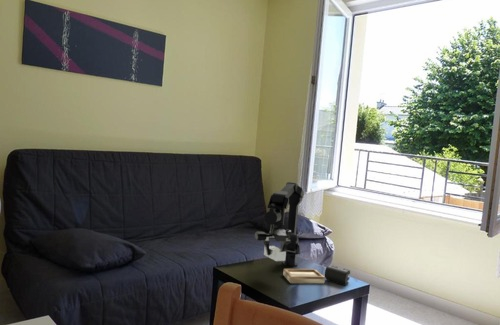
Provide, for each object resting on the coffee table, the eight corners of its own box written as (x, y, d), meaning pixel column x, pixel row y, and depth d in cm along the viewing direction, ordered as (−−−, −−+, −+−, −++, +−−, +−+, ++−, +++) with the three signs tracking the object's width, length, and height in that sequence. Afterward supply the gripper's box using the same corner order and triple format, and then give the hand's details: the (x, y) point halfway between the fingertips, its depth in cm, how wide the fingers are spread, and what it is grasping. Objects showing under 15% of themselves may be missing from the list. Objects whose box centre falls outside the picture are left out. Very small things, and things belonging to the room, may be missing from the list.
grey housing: (263, 254, 180) (264, 246, 179) (272, 254, 182) (273, 245, 182) (276, 261, 171) (276, 252, 171) (285, 260, 174) (286, 251, 173)
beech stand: (283, 274, 184) (283, 268, 184) (314, 275, 188) (315, 268, 188) (290, 283, 173) (291, 276, 173) (324, 283, 177) (324, 276, 177)
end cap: (323, 281, 180) (325, 267, 180) (329, 277, 186) (330, 263, 186) (344, 287, 175) (346, 272, 174) (349, 283, 180) (351, 269, 180)
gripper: (262, 224, 166) (259, 260, 166) (303, 225, 170) (300, 261, 171) (255, 218, 177) (252, 252, 177) (294, 220, 181) (291, 253, 182)
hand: (274, 255), depth 176 cm, fingers closed on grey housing, 6 cm apart
